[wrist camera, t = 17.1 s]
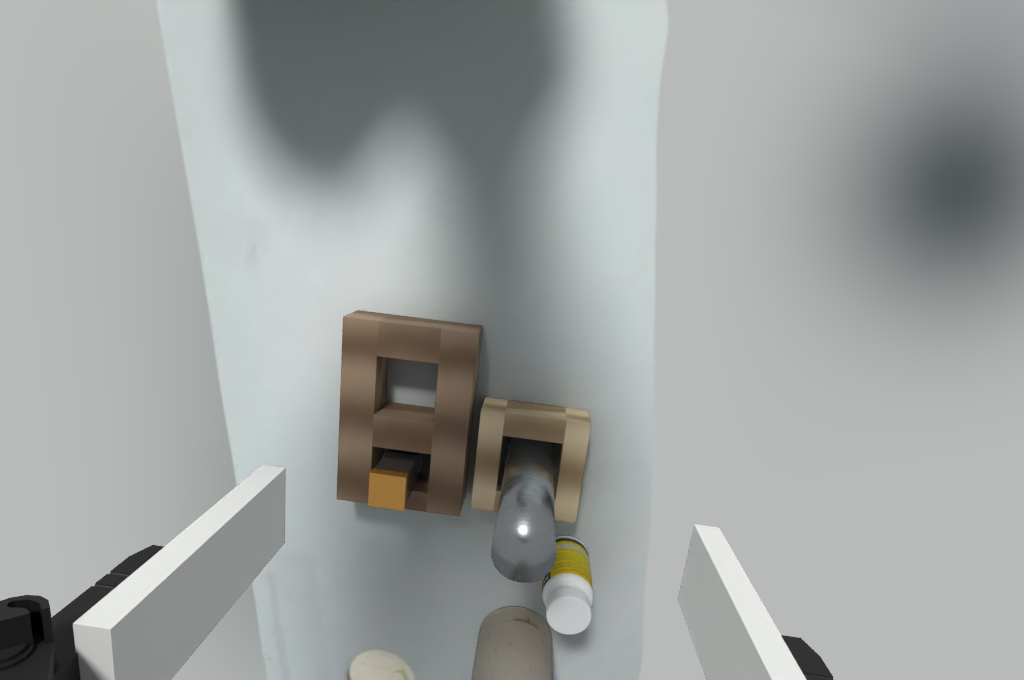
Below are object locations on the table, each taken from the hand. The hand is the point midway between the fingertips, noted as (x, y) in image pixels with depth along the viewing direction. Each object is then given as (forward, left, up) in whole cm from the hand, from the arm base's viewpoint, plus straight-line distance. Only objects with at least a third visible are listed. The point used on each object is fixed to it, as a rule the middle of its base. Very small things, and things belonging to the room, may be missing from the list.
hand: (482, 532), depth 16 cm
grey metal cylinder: (+12, +2, -32) cm, 34 cm away
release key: (+14, -10, -31) cm, 35 cm away
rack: (+12, +2, -32) cm, 34 cm away
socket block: (+9, -10, -32) cm, 34 cm away
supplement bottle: (+23, +7, -32) cm, 40 cm away
